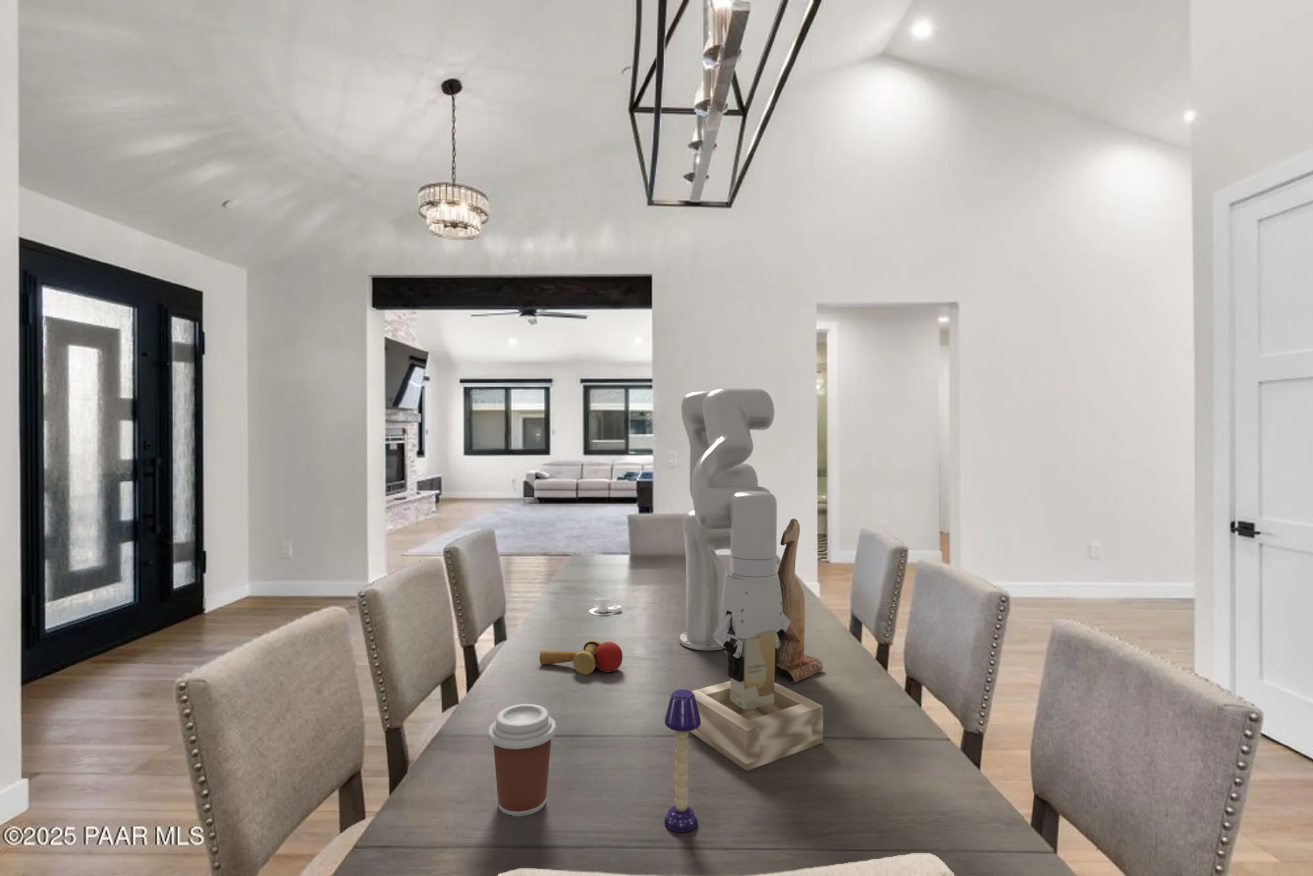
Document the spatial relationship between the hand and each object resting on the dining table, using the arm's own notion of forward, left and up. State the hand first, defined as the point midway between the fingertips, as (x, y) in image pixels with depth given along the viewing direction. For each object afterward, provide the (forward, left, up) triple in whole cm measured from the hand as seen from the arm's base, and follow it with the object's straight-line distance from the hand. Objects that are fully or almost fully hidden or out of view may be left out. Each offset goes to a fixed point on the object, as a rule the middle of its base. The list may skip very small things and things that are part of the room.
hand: (752, 673), depth 106 cm
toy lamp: (+23, +13, -10) cm, 28 cm away
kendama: (+11, -42, -11) cm, 45 cm away
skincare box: (0, 0, -5) cm, 5 cm away
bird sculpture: (-25, -18, -11) cm, 33 cm away
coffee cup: (+39, -2, -10) cm, 40 cm away
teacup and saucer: (-12, -74, -11) cm, 75 cm away
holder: (0, 0, -10) cm, 10 cm away
